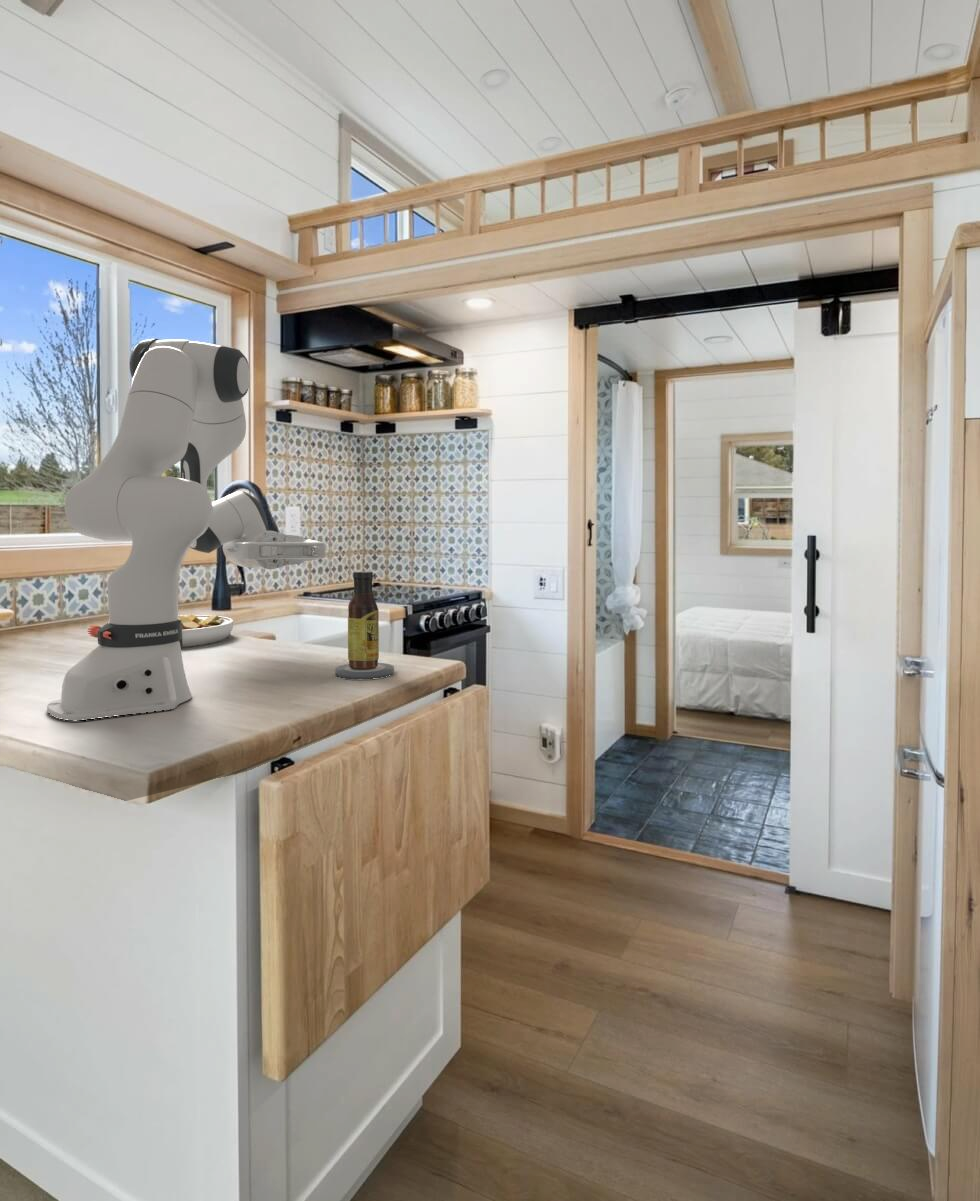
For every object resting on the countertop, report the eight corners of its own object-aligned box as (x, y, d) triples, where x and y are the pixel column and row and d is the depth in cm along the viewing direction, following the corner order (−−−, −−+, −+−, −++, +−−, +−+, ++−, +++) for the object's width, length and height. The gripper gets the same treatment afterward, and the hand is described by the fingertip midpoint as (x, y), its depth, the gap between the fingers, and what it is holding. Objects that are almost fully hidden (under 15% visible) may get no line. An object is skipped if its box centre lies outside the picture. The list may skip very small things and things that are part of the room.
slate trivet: (357, 682, 149) (357, 676, 149) (323, 673, 158) (323, 667, 158) (405, 673, 158) (405, 667, 158) (371, 665, 166) (371, 659, 166)
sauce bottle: (372, 671, 154) (371, 573, 152) (343, 670, 155) (341, 572, 153) (383, 665, 160) (382, 570, 158) (355, 663, 161) (353, 570, 159)
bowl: (111, 636, 207) (110, 607, 206) (228, 630, 219) (227, 602, 218) (105, 655, 180) (103, 622, 179) (239, 646, 192) (238, 615, 191)
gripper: (223, 535, 168) (253, 536, 158) (306, 536, 182) (338, 536, 172) (224, 564, 168) (253, 566, 158) (306, 562, 182) (338, 564, 172)
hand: (298, 551), depth 165 cm, fingers open, 8 cm apart
